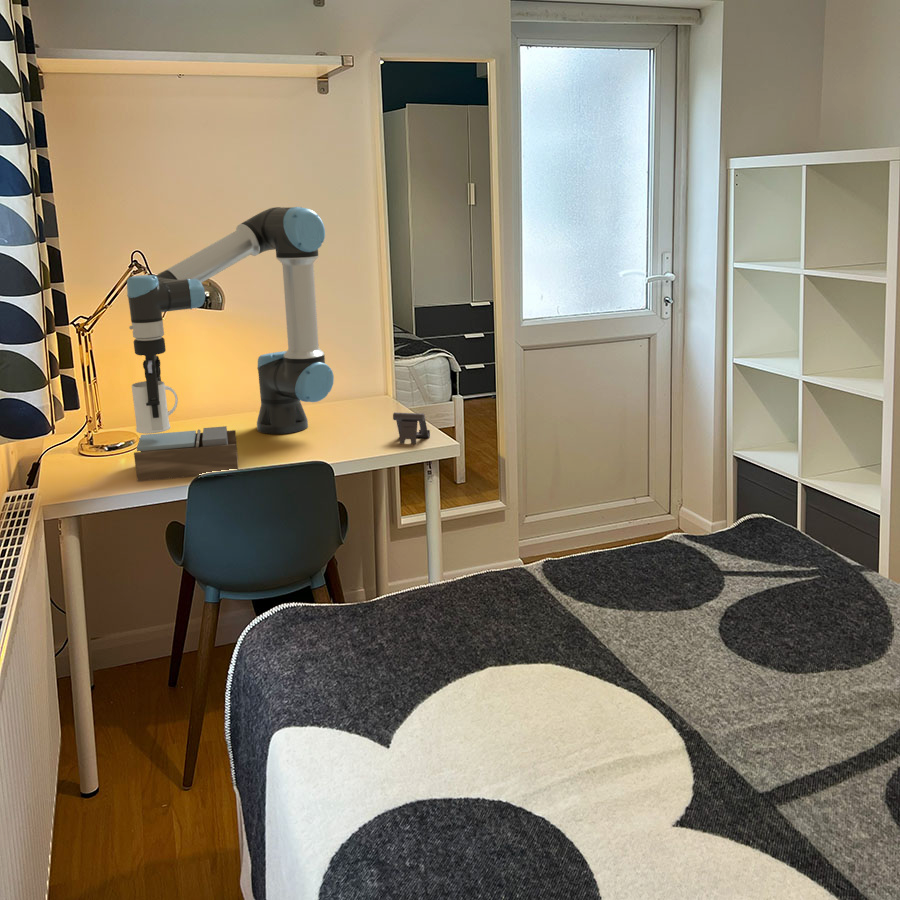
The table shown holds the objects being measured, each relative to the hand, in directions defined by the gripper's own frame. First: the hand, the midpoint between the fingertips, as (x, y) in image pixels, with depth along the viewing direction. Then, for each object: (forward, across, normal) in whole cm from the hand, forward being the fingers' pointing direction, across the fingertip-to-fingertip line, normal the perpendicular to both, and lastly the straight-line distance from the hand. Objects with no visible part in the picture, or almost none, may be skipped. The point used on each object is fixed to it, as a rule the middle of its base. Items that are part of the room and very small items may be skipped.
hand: (158, 425), depth 254 cm
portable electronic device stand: (+13, -10, +67) cm, 69 cm away
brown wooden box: (+12, 0, +6) cm, 14 cm away
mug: (+1, -1, 0) cm, 1 cm away
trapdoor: (+9, 0, +6) cm, 11 cm away
